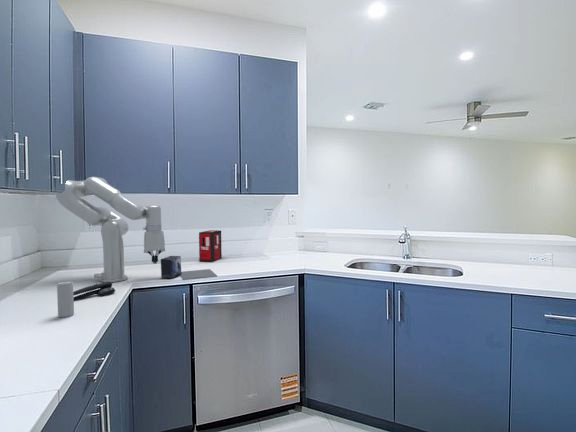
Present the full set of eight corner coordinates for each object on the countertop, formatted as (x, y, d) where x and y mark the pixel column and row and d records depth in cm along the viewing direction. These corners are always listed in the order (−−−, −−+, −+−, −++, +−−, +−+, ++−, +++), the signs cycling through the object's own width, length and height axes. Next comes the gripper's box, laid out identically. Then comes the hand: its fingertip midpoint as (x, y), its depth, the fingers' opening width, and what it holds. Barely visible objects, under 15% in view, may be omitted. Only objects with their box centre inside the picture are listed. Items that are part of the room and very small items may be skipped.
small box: (172, 278, 177) (170, 259, 177) (160, 278, 179) (159, 259, 178) (182, 274, 188) (181, 255, 187) (171, 274, 189) (170, 255, 188)
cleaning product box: (211, 262, 226) (211, 232, 225) (199, 262, 228) (198, 232, 227) (221, 258, 242) (221, 230, 241) (210, 258, 244) (209, 230, 243)
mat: (182, 279, 176) (182, 279, 176) (178, 272, 194) (178, 271, 194) (217, 276, 184) (217, 275, 184) (209, 269, 202) (209, 269, 202)
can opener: (110, 291, 155) (109, 279, 155) (116, 294, 150) (116, 281, 150) (65, 300, 141) (65, 287, 141) (71, 303, 137) (71, 289, 137)
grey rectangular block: (55, 316, 120) (53, 283, 120) (68, 312, 125) (67, 280, 124) (63, 318, 119) (62, 284, 118) (77, 314, 123) (76, 281, 122)
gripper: (138, 229, 172) (139, 265, 173) (169, 228, 178) (170, 263, 179) (138, 228, 179) (139, 263, 180) (168, 227, 185) (169, 260, 186)
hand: (154, 263), depth 179 cm, fingers closed
